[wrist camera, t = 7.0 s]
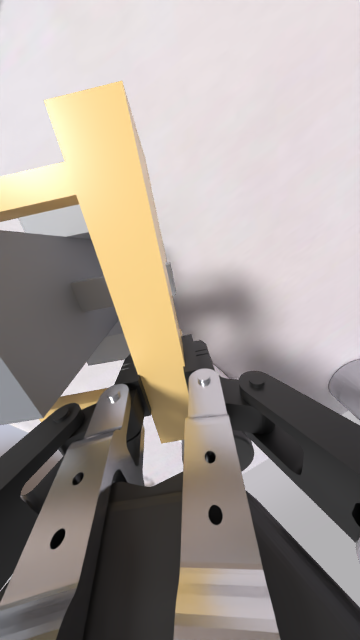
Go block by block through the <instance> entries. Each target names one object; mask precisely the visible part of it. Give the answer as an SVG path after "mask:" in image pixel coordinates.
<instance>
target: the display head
mask: <svg viewBox="0 0 360 640" xmlns="http://www.w3.org/2000/svg"><path fill="white" fill-rule="evenodd" d="M18 219H19V221H20V223H21V225H22V228H23V230H24V232H25V233H22V232H12V231H2V230H0V425H4V424H11V423H17V422H23V421H29V420H35V419H41V418H44V417H45V415H46V414H47V413H48V412H49V410H50V409H51V408H52V406H53V405H54V404H55V402H56V401H57V400H58V398H59V397H60V396H61V395H62V393H63V392H64V391H65V389H66V388H67V387H68V385H69V384H70V383H71V381H72V380H73V379H74V378H75V376H76V375H77V374H78V372H79V371H80V370H81V368H82V367H83V366H84V364H85V363H86V362H87V363H88V366H89V365H95V364H101V363H107V362H112V361H118V360H124V359H126V358H127V357H128V356H129V354H130V350H129V347H128V344H127V342H126V339H125V336H124V333H123V330H122V327H121V324H120V321H119V318H118V315H117V312H116V309H115V307H114V304H113V301H112V298H111V295H110V292H109V289H108V286H107V283H106V280H105V277H104V275H103V272H102V269H101V266H100V263H99V260H98V257H97V254H96V251H95V248H94V245H93V243H92V240H91V237H90V234H89V231H88V228H87V225H86V222H85V219H84V216H83V213H82V210H81V208H80V205H79V204H78V205H74V206H69V207H65V208H60V209H56V210H51V211H47V212H42V213H38V214H33V215H29V216H24V217H20V218H18ZM165 264H166V269H167V273H168V278H169V283H170V287H171V292H172V296H173V295H176V290H175V284H174V279H173V274H172V269H171V264H170V263H165Z"/></svg>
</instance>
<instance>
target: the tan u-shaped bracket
mask: <svg viewBox="0 0 360 640" xmlns="http://www.w3.org/2000/svg"><path fill="white" fill-rule="evenodd" d="M44 103H45V106H46V109H47V111H48V114H49V117H50V120H51V123H52V126H53V129H54V132H55V135H56V138H57V141H58V144H59V146H60V149H61V152H62V155H63V158H64V161H65V162H61V163H56V164H52V165H48V166H44V167H39V168H35V169H31V170H26V171H22V172H18V173H14V174H9V175H5V176H1V177H0V222H2V221H7V220H11V219H16V218H20V217H24V216H29V215H33V214H38V213H42V212H47V211H51V210H56V209H60V208H65V207H69V206H74V205H78V204H79V205H80V208H81V210H82V213H83V216H84V219H85V222H86V225H87V228H88V231H89V234H90V237H91V240H92V243H93V245H94V248H95V251H96V254H97V257H98V260H99V263H100V266H101V269H102V272H103V275H104V277H105V280H106V283H107V286H108V289H109V292H110V295H111V298H112V301H113V304H114V307H115V309H116V312H117V315H118V318H119V321H120V324H121V327H122V330H123V333H124V336H125V339H126V342H127V344H128V347H129V350H130V353H131V356H132V359H133V362H134V365H135V368H136V371H137V374H138V375H140V377H141V380H142V383H143V386H144V389H145V392H146V395H147V398H148V401H149V404H150V407H151V414H152V417H153V420H154V423H155V426H156V429H157V432H158V435H159V438H160V441H161V443H167V442H173V441H179V440H184V434H185V419H186V418H187V417H188V400H189V393H188V389H187V384H186V380H185V376H184V370H183V366H185V362H184V353H183V343H182V339H181V336H182V331H181V330H180V329H179V325H178V320H177V315H176V311H175V306H174V301H173V297H172V292H171V287H170V283H169V278H168V273H167V269H166V264H165V263H166V262H167V260H166V255H165V250H164V246H163V241H162V236H161V231H160V227H159V222H158V217H157V212H156V208H155V203H154V198H153V193H152V189H151V184H150V179H149V174H148V170H147V165H146V160H145V156H144V153H143V150H142V146H141V143H140V140H139V136H138V133H137V129H136V126H135V123H134V119H133V116H132V113H131V109H130V106H129V102H128V99H127V96H126V92H125V89H124V86H123V82H122V81H119V82H115V83H111V84H107V85H103V86H99V87H95V88H91V89H87V90H83V91H79V92H75V93H71V94H67V95H63V96H59V97H55V98H51V99H47V100H44ZM106 389H108V388H105V389H100V390H94V391H89V392H83V393H78V394H72V395H67V396H61V397H59V398H58V400H57V401H56V402H55V404H54V405H53V406H52V408H51V409H50V410H49V412H48V413H47V414H46V415H45V417H44V418H41V419H40V421H41V422H43V421H44V420H45V419H46V418H47V417H48V416H50V415H51V414H52V413H53V412H54V411H56V410H57V409H59V408H60V407H62V406H64V405H66V404H69V403H77V404H79V406H80V408H81V409H84V408H86V407H89V406H91V405H93V404H96V403H97V402H98V400H99V397H100V396H101V394H102V393H103V392H104V391H105V390H106Z"/></svg>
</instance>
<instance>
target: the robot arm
mask: <svg viewBox="0 0 360 640" xmlns="http://www.w3.org/2000/svg"><path fill="white" fill-rule="evenodd" d="M181 339H182V343H183V353H184V362H185V366H183V370H184V376H185V380H186V384H187V389H188V393H189V400H188V417H187V418H186V419H185V434H184V465H183V472H181V473H179V474H177V475H175V476H173V477H171V478H169V479H167V480H165V481H163V482H161V483H159V484H157V485H155V486H152V487H146V486H144V481H143V472H142V468H143V450H144V432H145V428H144V425H143V419H144V417H145V416H150V415H151V407H150V404H149V401H148V398H147V395H146V392H145V389H144V386H143V383H142V380H141V377H140V375H138V374H137V371H136V368H135V365H134V362H133V359H132V356H131V353H130V354H129V356H128V357H127V358H126V359H125V361H124V363H123V366H122V368H121V370H120V372H119V375H118V377H117V380H116V382H115V384H114V385H113V386H111V387H109V388H108V389H106V390H105V391H104V392H103V393H102V394H101V396H100V397H99V400H98V402H97V403H96V404H93V405H91V406H89V407H86V408H84V409H81V408H80V406H79V404H77V403H69V404H66V405H64V406H62V407H60V408H59V409H57V410H56V411H54V412H53V413H52V414H51V415H50V416H48V417H47V418H46V419H45V420H44V421H43V422H41V423H40V424H39V425H38V426H37V427H35V428H34V429H33V430H32V431H31V432H30V433H28V434H27V435H26V436H25V437H24V438H23V439H22V440H20V441H19V442H18V443H17V444H15V445H14V446H13V447H12V448H11V449H9V450H8V451H7V452H6V453H5V454H4V455H2V456H1V457H0V590H1V589H2V587H3V586H4V585H5V583H6V582H7V581H8V579H9V578H10V577H11V575H12V574H13V575H12V577H11V579H10V580H9V582H8V583H7V584H6V585H5V586H4V588H3V589H2V590H1V591H0V640H360V607H359V606H358V605H357V604H356V603H355V602H354V601H353V600H352V599H351V598H350V597H349V596H348V595H347V594H346V593H345V592H344V591H343V590H342V588H341V587H340V586H339V585H338V584H337V583H336V582H335V581H334V580H333V579H332V578H331V577H330V576H329V575H328V574H327V573H326V572H325V571H324V570H323V568H321V566H320V565H319V564H318V563H317V562H316V561H315V560H314V559H313V558H312V557H311V556H310V555H309V554H308V553H307V552H306V551H305V550H304V549H303V548H302V546H300V544H298V542H297V541H296V540H295V539H294V538H293V537H292V536H291V535H290V534H289V533H288V532H287V531H286V530H285V529H284V528H283V527H282V525H281V524H280V523H279V522H278V521H277V520H276V519H275V518H274V517H273V516H272V515H271V514H270V513H269V512H268V511H267V510H266V509H265V508H264V507H263V506H262V504H261V503H260V502H258V500H257V499H255V498H254V497H253V496H252V495H251V494H250V493H248V492H247V491H246V490H245V486H244V482H243V478H242V473H241V468H240V464H239V459H238V455H237V450H236V446H235V441H234V437H233V432H232V430H237V431H243V432H244V433H245V434H246V435H247V436H248V437H249V438H250V439H251V440H252V441H253V442H254V443H255V444H256V445H257V446H258V447H259V448H260V449H261V450H262V451H263V452H264V453H265V454H266V455H267V456H268V457H269V458H270V459H271V460H272V461H273V462H274V463H275V464H276V465H277V466H278V467H279V468H280V469H281V470H282V471H283V472H284V473H285V474H286V475H287V476H288V477H289V478H290V479H291V480H292V481H293V482H294V483H295V484H296V485H297V486H298V487H299V488H300V489H302V490H303V491H304V492H305V493H306V494H307V495H308V496H309V497H310V498H311V499H312V500H313V501H314V502H315V503H316V504H317V505H318V506H319V507H320V508H321V509H322V510H323V511H324V512H325V513H326V514H327V515H328V516H329V517H330V518H331V519H332V520H333V521H334V522H335V523H336V524H337V525H338V526H339V527H340V528H341V529H342V530H343V531H344V532H345V533H346V534H348V536H349V537H351V539H352V540H353V541H354V542H356V552H357V556H358V560H359V562H360V425H358V424H356V423H354V422H352V421H351V420H349V419H347V418H345V417H343V416H342V415H340V414H338V413H336V412H334V411H333V410H331V409H329V408H327V407H325V406H324V405H322V404H320V403H318V402H316V401H315V400H313V399H311V398H309V397H307V396H306V395H304V394H302V393H300V392H298V391H297V390H295V389H293V388H291V387H289V386H288V385H286V384H284V383H282V382H280V381H279V380H277V379H275V378H273V377H271V376H269V375H268V374H266V373H263V372H259V371H249V372H246V373H244V374H242V375H241V376H240V378H239V380H234V379H226V378H223V377H221V376H220V375H218V373H217V372H216V371H215V369H214V366H213V363H212V360H211V357H210V355H209V352H208V349H207V346H206V344H205V343H204V342H203V341H201V340H199V341H194V342H193V339H192V335H191V334H190V335H185V336H181ZM329 390H330V392H331V394H332V395H333V396H334V397H335V398H336V399H337V400H338V401H339V402H341V403H342V404H343V405H344V406H345V407H346V408H347V409H348V410H349V411H350V412H351V413H352V414H353V415H354V416H356V417H357V418H358V419H359V420H360V359H358V360H355V361H352V362H350V363H348V364H346V365H344V366H343V367H341V368H340V369H339V370H338V371H337V372H336V373H335V374H334V375H333V377H332V378H331V380H330V383H329ZM58 449H59V451H60V452H61V453H62V455H63V457H62V459H61V460H60V461H59V462H58V463H57V464H56V465H55V466H54V467H53V468H52V470H51V471H50V472H49V473H48V474H47V475H46V476H45V477H44V478H43V479H42V480H41V482H40V483H39V484H38V485H37V486H36V487H35V488H34V489H33V490H32V491H31V492H29V493H28V494H26V495H20V494H21V490H22V488H23V486H24V485H25V483H26V482H27V481H28V480H29V479H30V478H31V477H32V475H34V474H35V473H36V472H37V470H38V469H39V468H40V467H41V466H42V465H43V464H44V463H45V462H46V461H47V460H48V459H49V458H50V457H51V456H52V455H53V454H54V453H55V452H56V451H57V450H58Z"/></svg>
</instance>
